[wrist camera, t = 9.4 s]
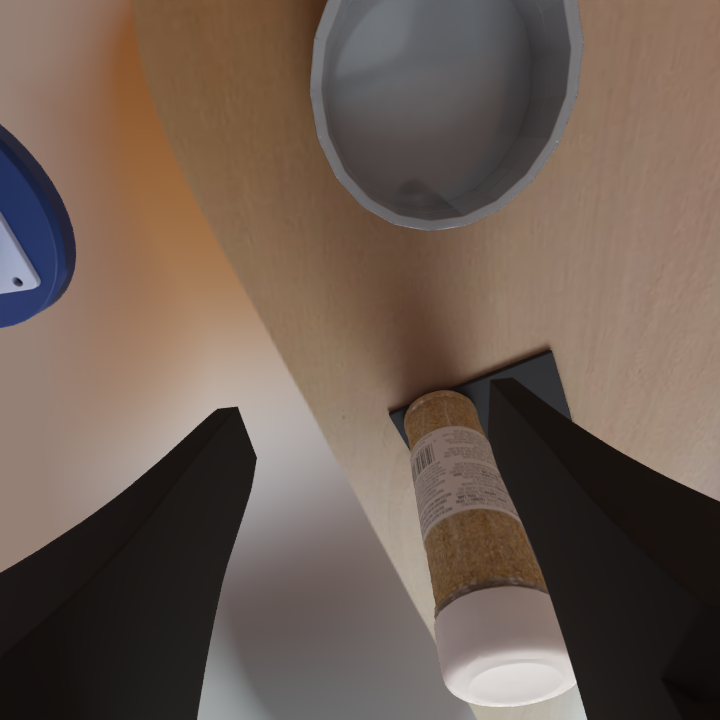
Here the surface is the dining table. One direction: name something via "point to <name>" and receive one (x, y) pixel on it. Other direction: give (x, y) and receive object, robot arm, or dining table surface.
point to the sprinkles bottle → (480, 564)
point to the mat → (529, 372)
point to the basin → (442, 101)
